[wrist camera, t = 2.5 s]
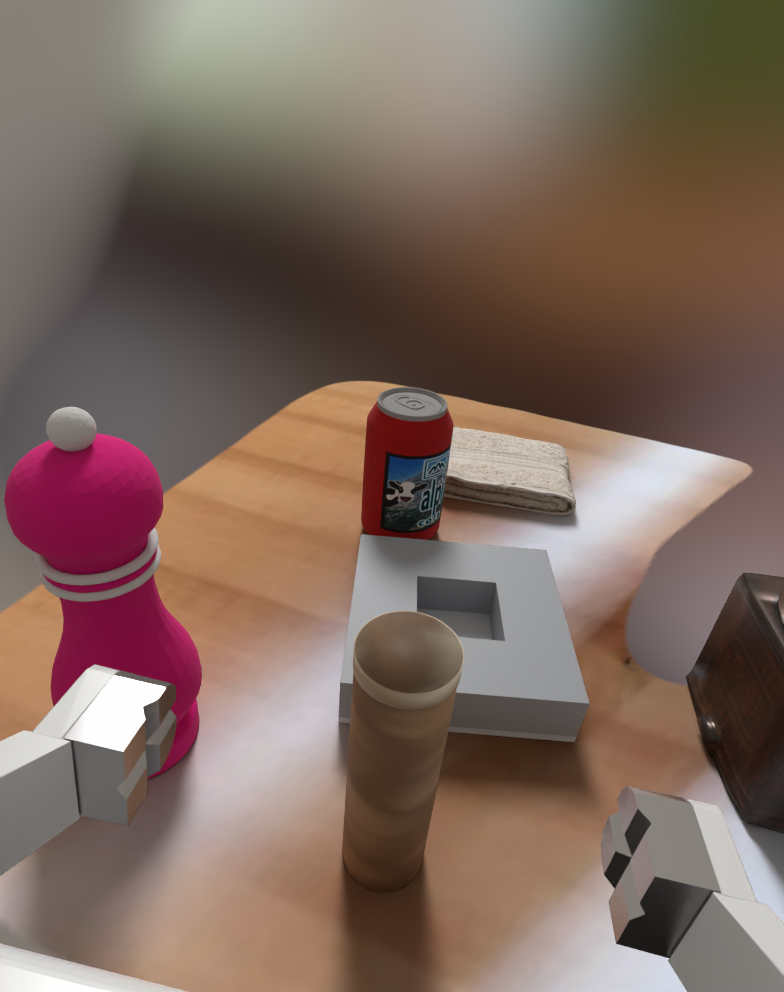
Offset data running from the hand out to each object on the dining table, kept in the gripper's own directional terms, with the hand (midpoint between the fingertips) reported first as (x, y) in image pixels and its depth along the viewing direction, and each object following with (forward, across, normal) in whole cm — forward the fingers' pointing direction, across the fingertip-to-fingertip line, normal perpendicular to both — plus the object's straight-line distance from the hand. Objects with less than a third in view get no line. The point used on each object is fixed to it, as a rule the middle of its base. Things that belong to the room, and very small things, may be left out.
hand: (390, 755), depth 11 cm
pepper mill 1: (+15, +13, +21) cm, 29 cm away
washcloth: (+50, -4, +16) cm, 53 cm away
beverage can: (+38, +2, +17) cm, 42 cm away
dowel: (+12, -1, +20) cm, 23 cm away
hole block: (+26, -3, +18) cm, 32 cm away
